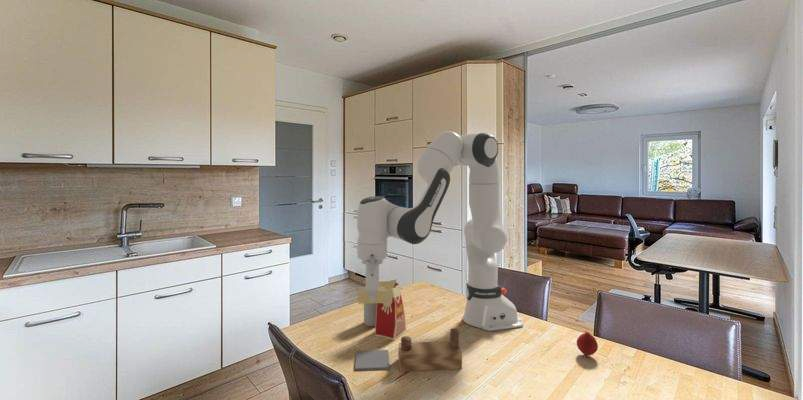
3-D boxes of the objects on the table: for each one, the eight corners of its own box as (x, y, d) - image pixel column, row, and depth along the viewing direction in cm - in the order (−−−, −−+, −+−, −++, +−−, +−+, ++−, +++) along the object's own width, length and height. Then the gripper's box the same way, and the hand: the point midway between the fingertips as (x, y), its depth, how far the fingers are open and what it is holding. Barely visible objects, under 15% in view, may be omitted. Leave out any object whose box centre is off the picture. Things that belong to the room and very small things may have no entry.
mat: (388, 351, 114) (388, 349, 114) (389, 369, 104) (389, 367, 104) (356, 352, 113) (356, 350, 113) (355, 370, 103) (355, 368, 103)
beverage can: (380, 327, 131) (380, 295, 130) (362, 327, 131) (362, 295, 130) (381, 320, 137) (381, 289, 136) (364, 320, 137) (364, 289, 136)
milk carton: (406, 330, 129) (406, 276, 127) (395, 341, 121) (395, 283, 119) (384, 325, 133) (384, 272, 131) (371, 335, 124) (371, 279, 123)
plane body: (456, 356, 111) (456, 325, 110) (461, 368, 104) (462, 335, 103) (398, 358, 110) (398, 327, 109) (400, 371, 103) (400, 338, 102)
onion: (595, 352, 114) (596, 328, 113) (598, 362, 108) (600, 336, 107) (575, 349, 115) (576, 325, 115) (577, 358, 110) (578, 333, 109)
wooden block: (385, 297, 109) (385, 286, 109) (385, 302, 105) (385, 291, 105) (359, 298, 109) (359, 286, 108) (358, 303, 104) (358, 291, 104)
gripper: (384, 260, 95) (384, 310, 97) (382, 244, 116) (382, 285, 117) (360, 260, 95) (360, 310, 96) (362, 244, 115) (362, 286, 116)
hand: (372, 296), depth 107 cm, fingers closed on wooden block, 4 cm apart
